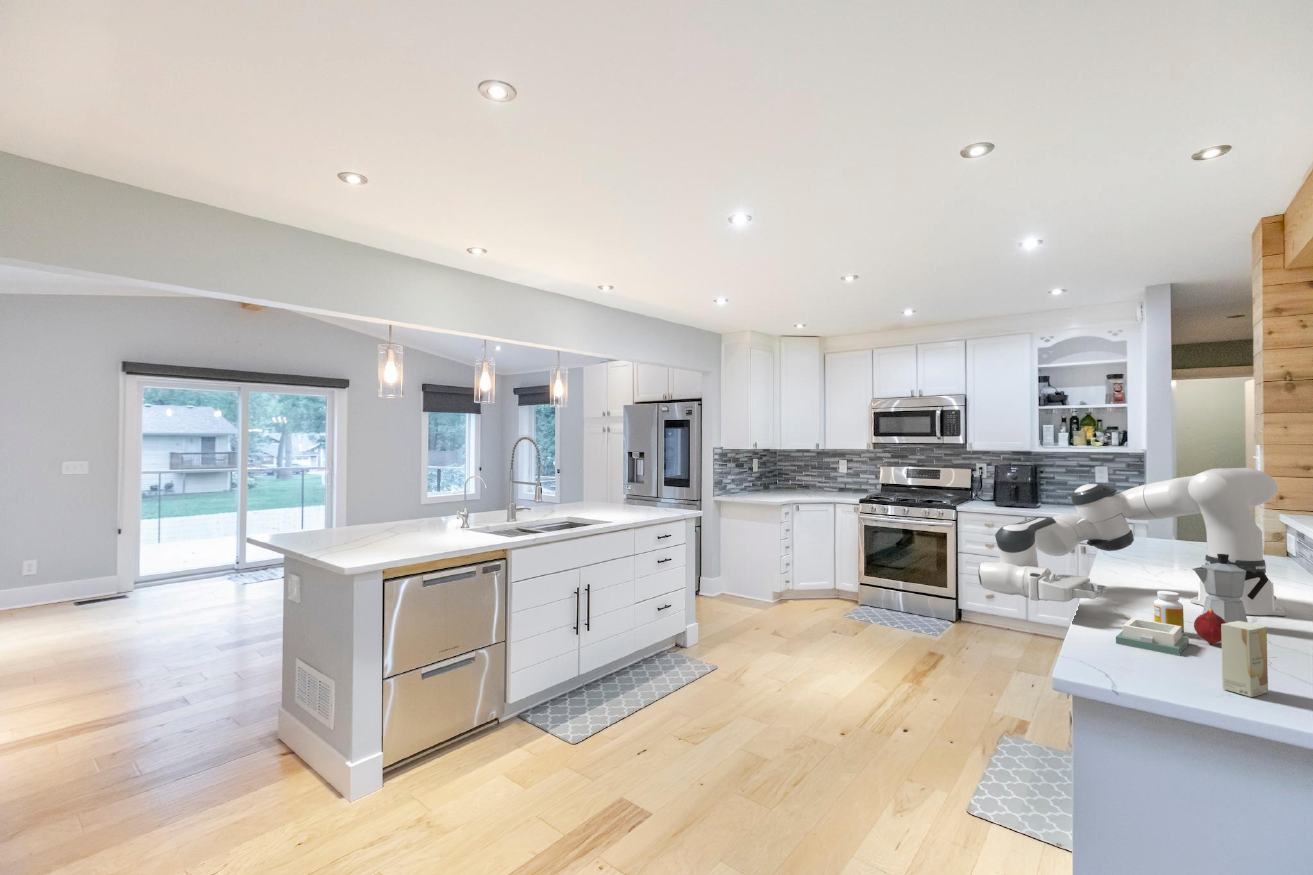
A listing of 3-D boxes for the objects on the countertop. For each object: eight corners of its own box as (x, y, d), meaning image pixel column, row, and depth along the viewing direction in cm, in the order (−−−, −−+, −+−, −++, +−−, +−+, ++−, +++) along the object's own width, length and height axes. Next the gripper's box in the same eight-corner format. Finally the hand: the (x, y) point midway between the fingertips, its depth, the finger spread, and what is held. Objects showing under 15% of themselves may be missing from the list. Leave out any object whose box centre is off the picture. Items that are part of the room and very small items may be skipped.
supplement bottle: (1188, 634, 142) (1187, 593, 142) (1177, 637, 140) (1176, 596, 140) (1161, 627, 147) (1160, 588, 147) (1150, 631, 145) (1149, 591, 145)
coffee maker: (1201, 627, 147) (1199, 555, 147) (1185, 618, 155) (1183, 549, 155) (1280, 634, 141) (1278, 558, 142) (1258, 623, 149) (1256, 552, 150)
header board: (1128, 632, 144) (1128, 615, 144) (1188, 643, 135) (1188, 625, 135) (1115, 643, 136) (1115, 625, 136) (1178, 655, 128) (1178, 637, 128)
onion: (1236, 649, 131) (1235, 613, 132) (1206, 647, 133) (1205, 611, 133) (1217, 640, 137) (1216, 606, 137) (1188, 639, 138) (1187, 605, 138)
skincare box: (1252, 698, 106) (1250, 630, 106) (1221, 689, 110) (1219, 623, 110) (1270, 692, 108) (1268, 625, 109) (1239, 683, 112) (1237, 619, 113)
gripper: (1053, 589, 171) (1112, 597, 160) (1027, 601, 158) (1090, 611, 147) (1053, 567, 171) (1111, 574, 160) (1027, 577, 158) (1089, 586, 147)
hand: (1101, 592), depth 154 cm, fingers open, 8 cm apart
